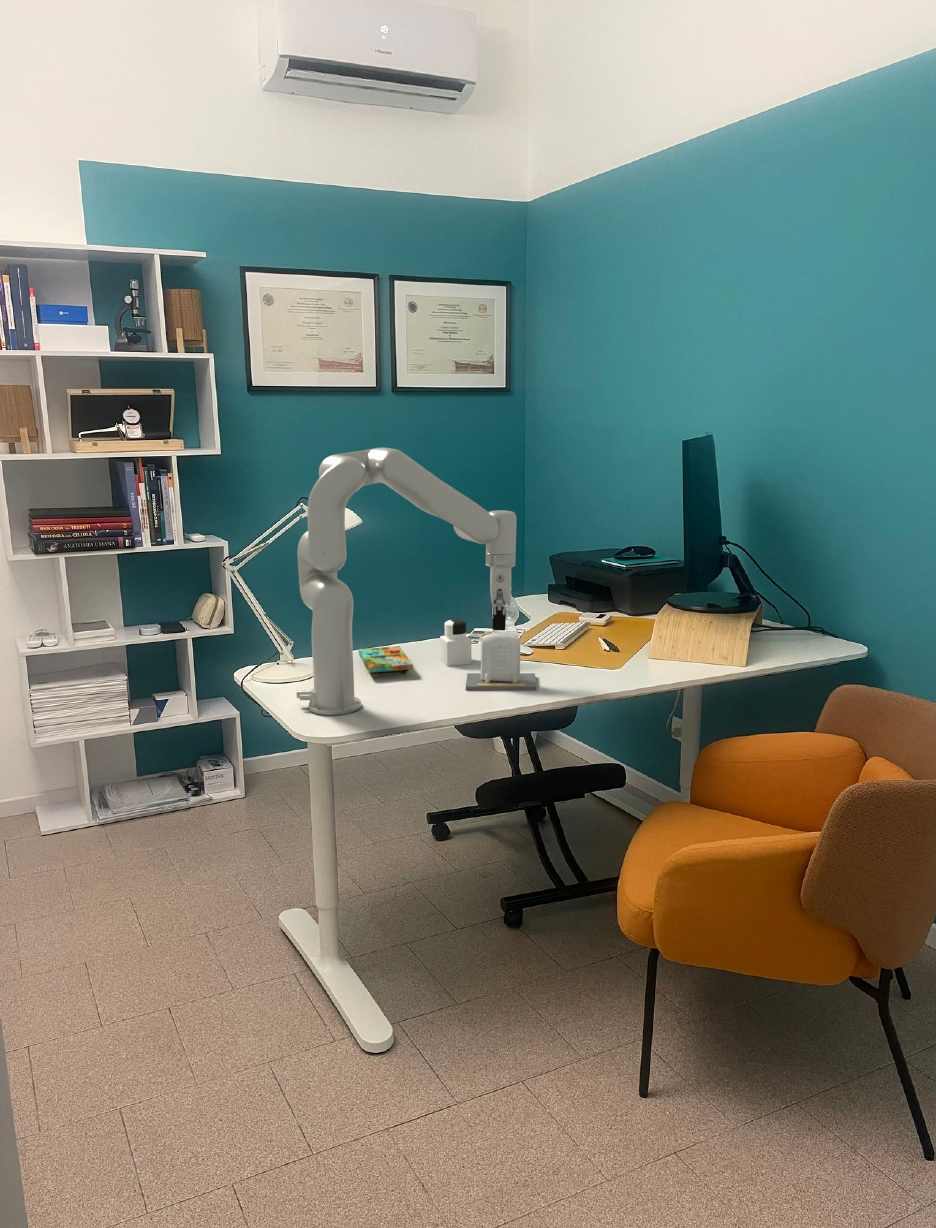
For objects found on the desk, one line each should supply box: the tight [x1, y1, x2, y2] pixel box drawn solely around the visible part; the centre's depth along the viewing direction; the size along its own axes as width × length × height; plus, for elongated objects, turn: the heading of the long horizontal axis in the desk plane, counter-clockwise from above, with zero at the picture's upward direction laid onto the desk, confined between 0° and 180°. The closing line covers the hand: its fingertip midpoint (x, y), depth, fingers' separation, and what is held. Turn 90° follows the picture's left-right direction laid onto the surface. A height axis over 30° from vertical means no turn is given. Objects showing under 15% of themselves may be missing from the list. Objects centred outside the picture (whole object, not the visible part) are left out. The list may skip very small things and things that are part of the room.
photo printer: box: [480, 632, 521, 682], centre depth 243 cm, size 10×4×12 cm, turn 81°
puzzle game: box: [358, 645, 414, 677], centre depth 259 cm, size 12×5×20 cm
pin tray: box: [465, 672, 538, 691], centre depth 244 cm, size 18×12×4 cm, turn 88°
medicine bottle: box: [439, 619, 473, 667], centre depth 264 cm, size 7×7×12 cm
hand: (499, 625), depth 241 cm, fingers open, 9 cm apart
